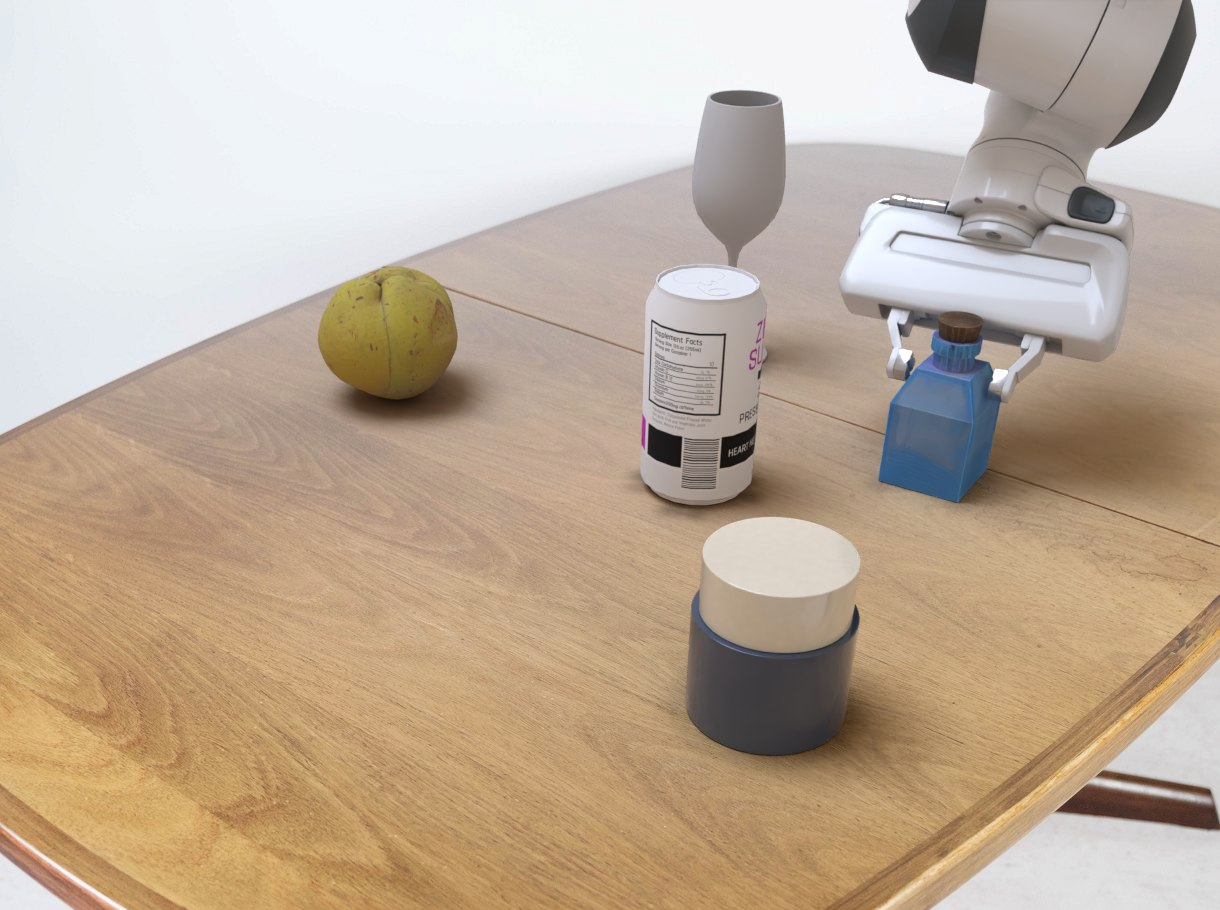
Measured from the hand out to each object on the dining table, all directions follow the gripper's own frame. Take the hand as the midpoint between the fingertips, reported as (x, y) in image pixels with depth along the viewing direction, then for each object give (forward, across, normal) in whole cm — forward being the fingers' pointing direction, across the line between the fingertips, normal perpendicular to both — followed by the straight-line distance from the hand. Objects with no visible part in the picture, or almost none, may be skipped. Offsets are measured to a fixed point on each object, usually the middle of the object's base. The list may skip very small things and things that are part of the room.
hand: (947, 387), depth 95 cm
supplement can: (+12, -15, -2) cm, 19 cm away
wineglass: (-5, -23, +15) cm, 28 cm away
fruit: (+11, -43, 0) cm, 45 cm away
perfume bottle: (+5, 0, +6) cm, 7 cm away
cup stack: (+28, 0, -18) cm, 33 cm away
